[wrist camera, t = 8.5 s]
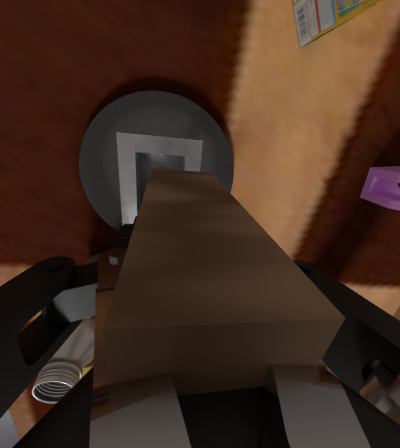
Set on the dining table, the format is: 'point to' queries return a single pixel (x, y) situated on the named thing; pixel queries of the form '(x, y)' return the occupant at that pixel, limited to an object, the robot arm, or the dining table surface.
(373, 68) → the dining table surface
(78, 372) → the plastic bottle
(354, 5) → the crayon box
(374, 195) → the bracket
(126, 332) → the tan rectangular block
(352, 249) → the dining table surface
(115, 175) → the grey round socket base
